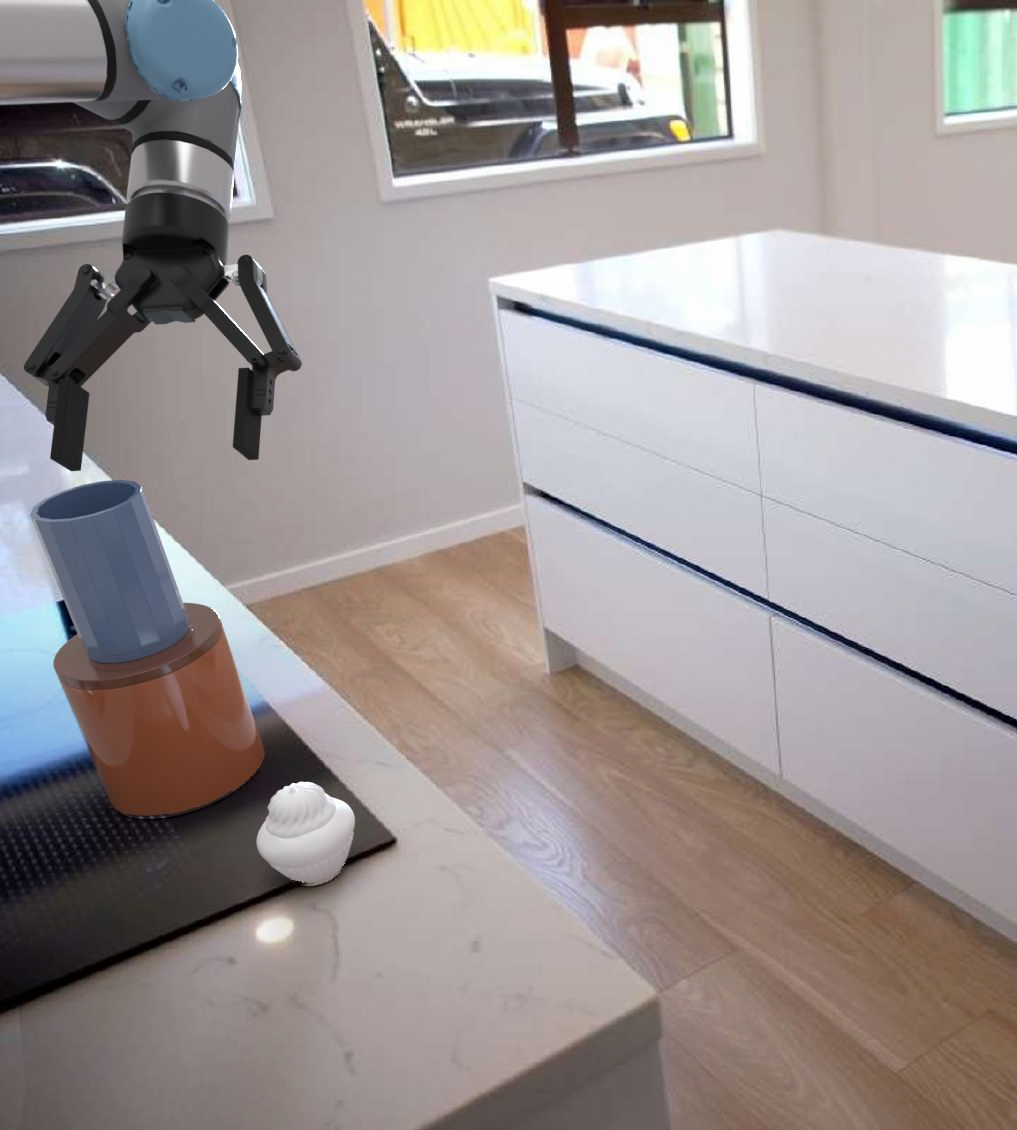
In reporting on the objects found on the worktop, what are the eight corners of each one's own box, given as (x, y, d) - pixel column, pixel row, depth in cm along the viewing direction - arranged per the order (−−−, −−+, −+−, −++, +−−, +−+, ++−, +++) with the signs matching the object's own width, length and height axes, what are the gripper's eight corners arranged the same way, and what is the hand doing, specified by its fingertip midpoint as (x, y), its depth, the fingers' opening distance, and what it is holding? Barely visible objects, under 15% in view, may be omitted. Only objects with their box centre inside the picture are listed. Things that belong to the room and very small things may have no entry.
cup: (81, 672, 89) (22, 529, 84) (92, 629, 95) (38, 493, 90) (187, 648, 91) (136, 507, 86) (192, 607, 97) (145, 472, 92)
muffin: (263, 866, 88) (233, 783, 84) (353, 830, 90) (328, 748, 87) (282, 916, 83) (251, 830, 80) (377, 876, 86) (351, 792, 83)
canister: (102, 837, 92) (41, 696, 86) (117, 756, 101) (63, 624, 96) (265, 793, 95) (217, 654, 90) (265, 719, 104) (222, 589, 99)
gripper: (351, 229, 107) (339, 466, 101) (51, 247, 107) (21, 486, 101) (315, 178, 100) (300, 429, 94) (-7, 197, 100) (-43, 451, 94)
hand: (155, 459), depth 98 cm, fingers open, 13 cm apart
